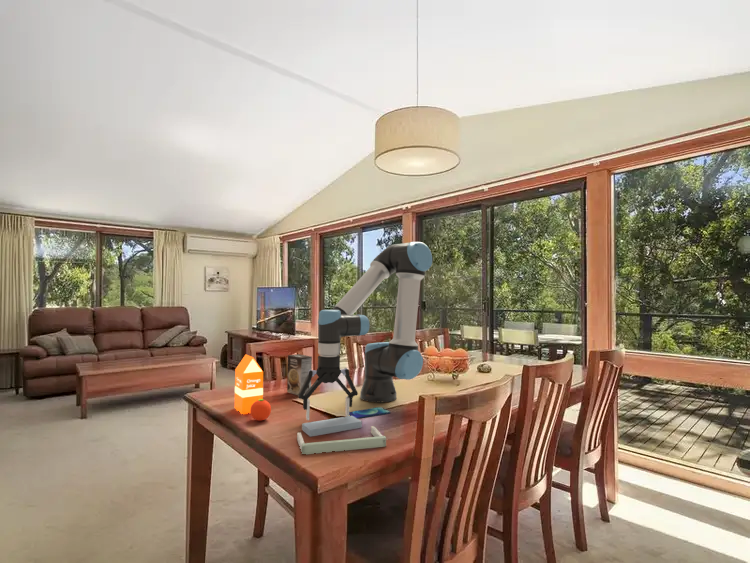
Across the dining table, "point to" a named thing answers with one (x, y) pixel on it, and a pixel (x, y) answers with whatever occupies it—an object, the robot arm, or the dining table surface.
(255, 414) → the clementine
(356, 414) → the smartphone
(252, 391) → the orange juice
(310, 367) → the coffee box
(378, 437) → the docking bay
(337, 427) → the blue-grey rectangular slab
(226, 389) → the dining table surface
